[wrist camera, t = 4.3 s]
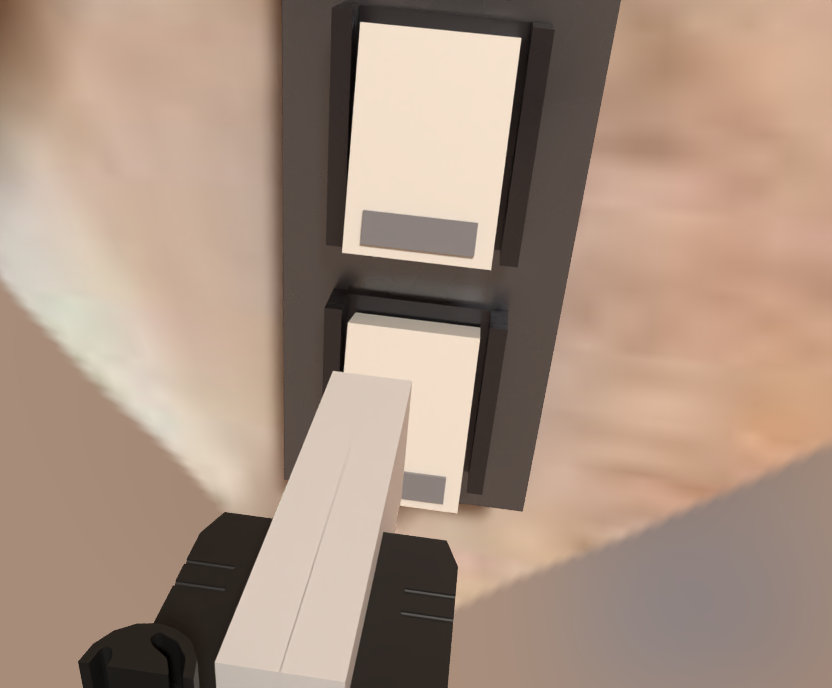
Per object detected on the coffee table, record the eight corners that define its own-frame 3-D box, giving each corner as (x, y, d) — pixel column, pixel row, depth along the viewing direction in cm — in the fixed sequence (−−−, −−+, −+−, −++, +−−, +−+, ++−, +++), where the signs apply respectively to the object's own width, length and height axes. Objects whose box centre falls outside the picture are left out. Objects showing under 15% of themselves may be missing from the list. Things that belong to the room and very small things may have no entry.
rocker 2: (355, 312, 28) (347, 323, 26) (480, 327, 27) (479, 340, 26) (341, 477, 29) (332, 498, 28) (458, 493, 29) (457, 515, 27)
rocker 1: (368, 29, 23) (359, 20, 21) (518, 44, 23) (521, 37, 21) (350, 245, 25) (341, 253, 23) (490, 261, 25) (491, 270, 23)
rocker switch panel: (317, -469, 21) (259, -584, 16) (685, -445, 21) (739, -558, 16) (306, 424, 36) (274, 504, 31) (521, 452, 35) (522, 538, 30)
